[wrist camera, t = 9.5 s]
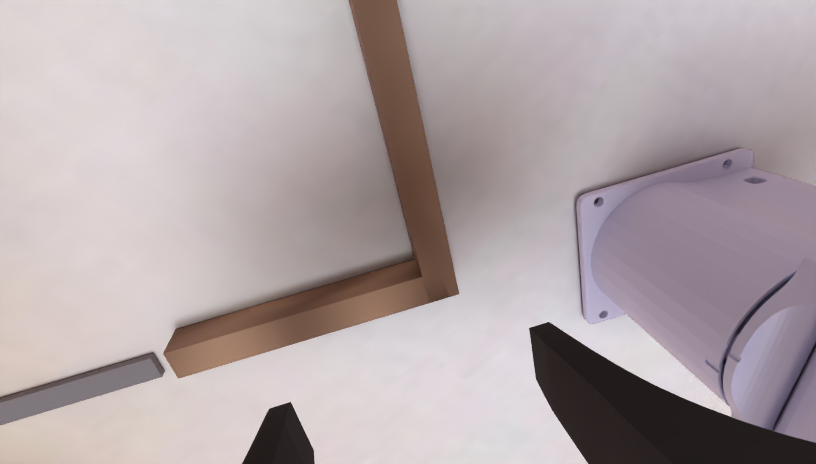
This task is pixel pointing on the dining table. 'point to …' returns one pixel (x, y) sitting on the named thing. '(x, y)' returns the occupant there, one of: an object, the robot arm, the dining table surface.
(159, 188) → the dining table surface
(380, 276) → the walnut holder
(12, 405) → the grey open frame
